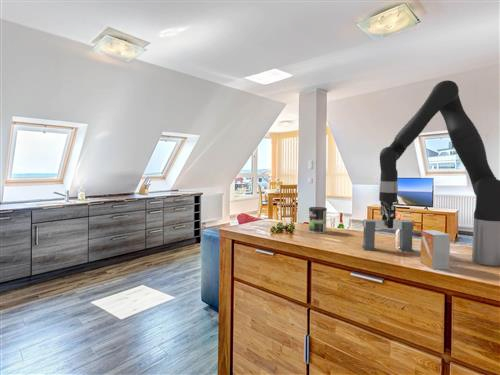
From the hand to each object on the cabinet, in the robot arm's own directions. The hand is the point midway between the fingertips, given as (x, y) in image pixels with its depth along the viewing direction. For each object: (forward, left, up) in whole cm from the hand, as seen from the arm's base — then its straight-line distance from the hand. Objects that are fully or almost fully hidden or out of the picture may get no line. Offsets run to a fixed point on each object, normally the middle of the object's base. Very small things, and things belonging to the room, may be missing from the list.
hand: (387, 226), depth 135 cm
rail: (0, 0, -1) cm, 1 cm away
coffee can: (+29, -35, -11) cm, 47 cm away
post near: (-8, 0, -11) cm, 13 cm away
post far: (+8, 0, -11) cm, 13 cm away
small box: (-11, +22, -11) cm, 27 cm away
